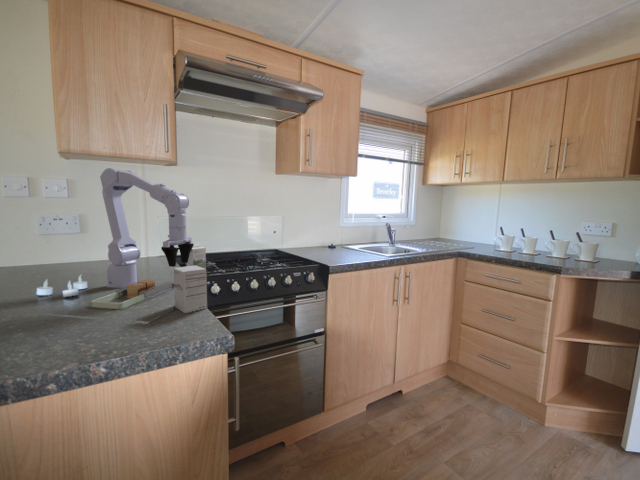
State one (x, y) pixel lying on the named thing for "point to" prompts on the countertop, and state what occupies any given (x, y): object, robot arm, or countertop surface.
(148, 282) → the rear copper block
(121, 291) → the aluminium slot
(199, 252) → the syrup box
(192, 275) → the supplement box
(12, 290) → the countertop surface
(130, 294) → the front copper block
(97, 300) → the tray
